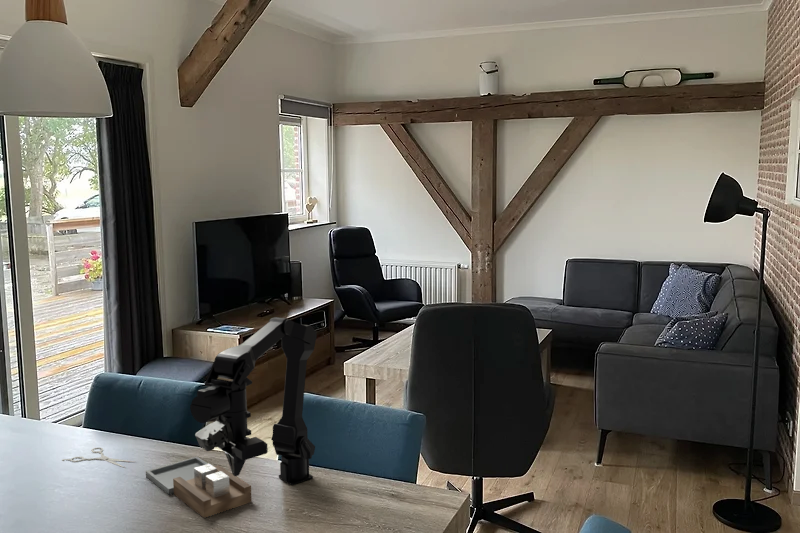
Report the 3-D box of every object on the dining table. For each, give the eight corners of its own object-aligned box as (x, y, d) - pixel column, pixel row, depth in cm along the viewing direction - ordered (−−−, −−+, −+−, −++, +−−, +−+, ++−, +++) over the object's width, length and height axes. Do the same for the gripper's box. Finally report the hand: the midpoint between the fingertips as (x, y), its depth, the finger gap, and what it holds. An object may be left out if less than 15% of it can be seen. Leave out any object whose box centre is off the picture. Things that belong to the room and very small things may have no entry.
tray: (197, 461, 188) (196, 456, 188) (222, 478, 178) (221, 472, 178) (145, 476, 179) (145, 471, 179) (169, 495, 169) (168, 489, 169)
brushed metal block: (221, 487, 167) (220, 471, 167) (229, 492, 164) (229, 476, 164) (206, 492, 165) (205, 475, 164) (214, 497, 162) (213, 481, 161)
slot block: (219, 480, 177) (218, 464, 176) (251, 501, 165) (251, 485, 165) (173, 494, 169) (173, 478, 168) (204, 518, 157) (203, 501, 157)
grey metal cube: (209, 479, 172) (209, 463, 171) (217, 484, 169) (217, 468, 168) (194, 483, 169) (193, 468, 169) (202, 489, 166) (201, 473, 166)
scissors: (93, 445, 199) (146, 456, 191) (93, 448, 199) (146, 459, 191) (61, 459, 189) (116, 471, 181) (61, 462, 189) (116, 474, 181)
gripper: (180, 406, 157) (183, 472, 159) (220, 428, 143) (223, 501, 145) (225, 395, 164) (228, 459, 166) (267, 416, 150) (269, 485, 152)
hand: (236, 475), depth 157 cm, fingers closed
